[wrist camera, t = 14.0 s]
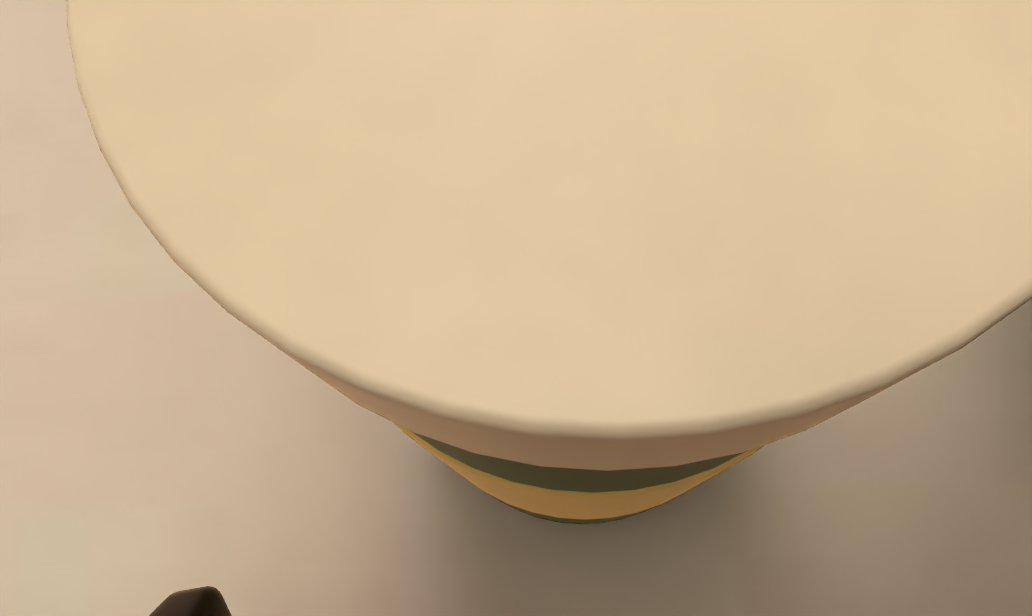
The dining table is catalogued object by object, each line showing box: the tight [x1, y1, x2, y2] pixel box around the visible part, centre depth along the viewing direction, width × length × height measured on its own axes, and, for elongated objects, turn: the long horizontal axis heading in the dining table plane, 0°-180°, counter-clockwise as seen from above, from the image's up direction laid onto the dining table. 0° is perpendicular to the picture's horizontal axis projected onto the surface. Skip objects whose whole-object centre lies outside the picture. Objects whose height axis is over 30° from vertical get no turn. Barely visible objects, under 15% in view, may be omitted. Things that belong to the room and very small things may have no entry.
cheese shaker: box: [66, 0, 1032, 524], centre depth 11 cm, size 7×7×12 cm
